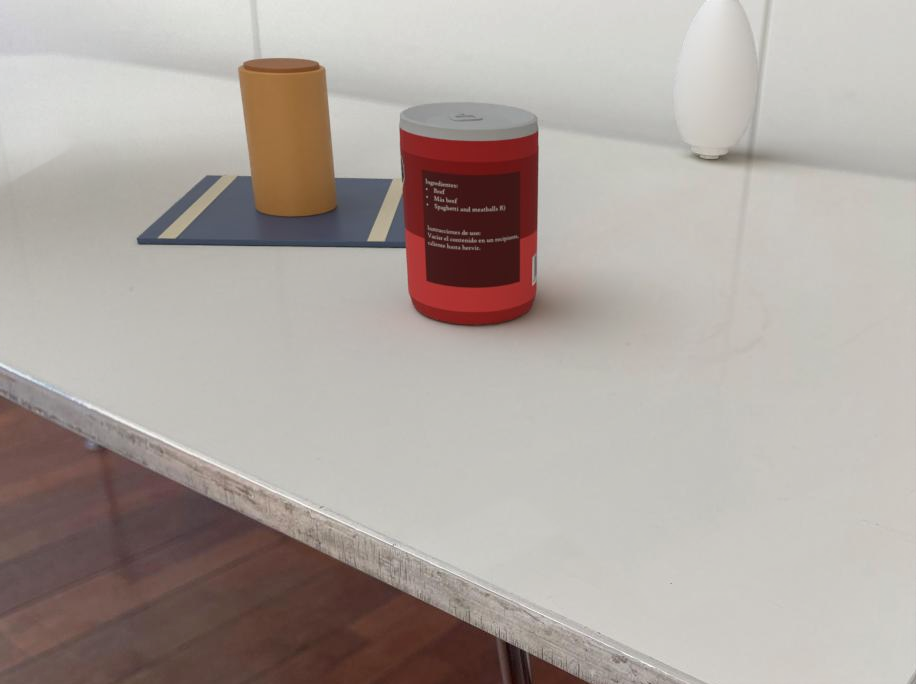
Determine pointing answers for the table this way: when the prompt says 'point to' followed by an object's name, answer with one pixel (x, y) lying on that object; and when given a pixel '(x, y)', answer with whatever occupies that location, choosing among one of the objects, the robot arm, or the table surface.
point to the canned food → (470, 210)
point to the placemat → (239, 223)
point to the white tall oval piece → (716, 79)
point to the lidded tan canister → (288, 136)
